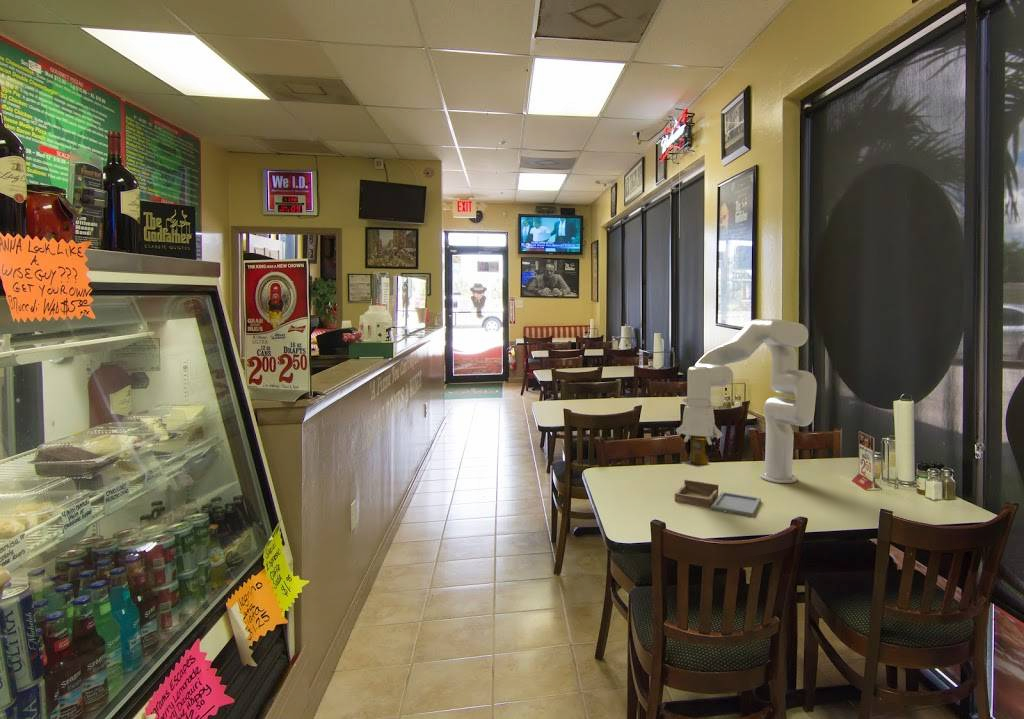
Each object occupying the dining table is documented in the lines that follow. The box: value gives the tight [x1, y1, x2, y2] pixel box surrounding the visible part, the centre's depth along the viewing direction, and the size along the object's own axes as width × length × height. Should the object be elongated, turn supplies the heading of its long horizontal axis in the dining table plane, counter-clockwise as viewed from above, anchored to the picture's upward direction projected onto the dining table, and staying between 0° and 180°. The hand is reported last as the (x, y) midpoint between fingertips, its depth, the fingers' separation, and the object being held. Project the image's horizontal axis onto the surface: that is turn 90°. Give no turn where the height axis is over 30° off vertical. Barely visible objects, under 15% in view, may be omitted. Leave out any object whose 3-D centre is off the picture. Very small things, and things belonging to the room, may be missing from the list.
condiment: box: [680, 436, 714, 468], centre depth 188 cm, size 7×8×12 cm
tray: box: [710, 491, 762, 517], centre depth 182 cm, size 16×13×1 cm
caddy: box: [674, 479, 720, 508], centre depth 189 cm, size 13×12×4 cm
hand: (698, 453), depth 188 cm, fingers closed on condiment, 6 cm apart
